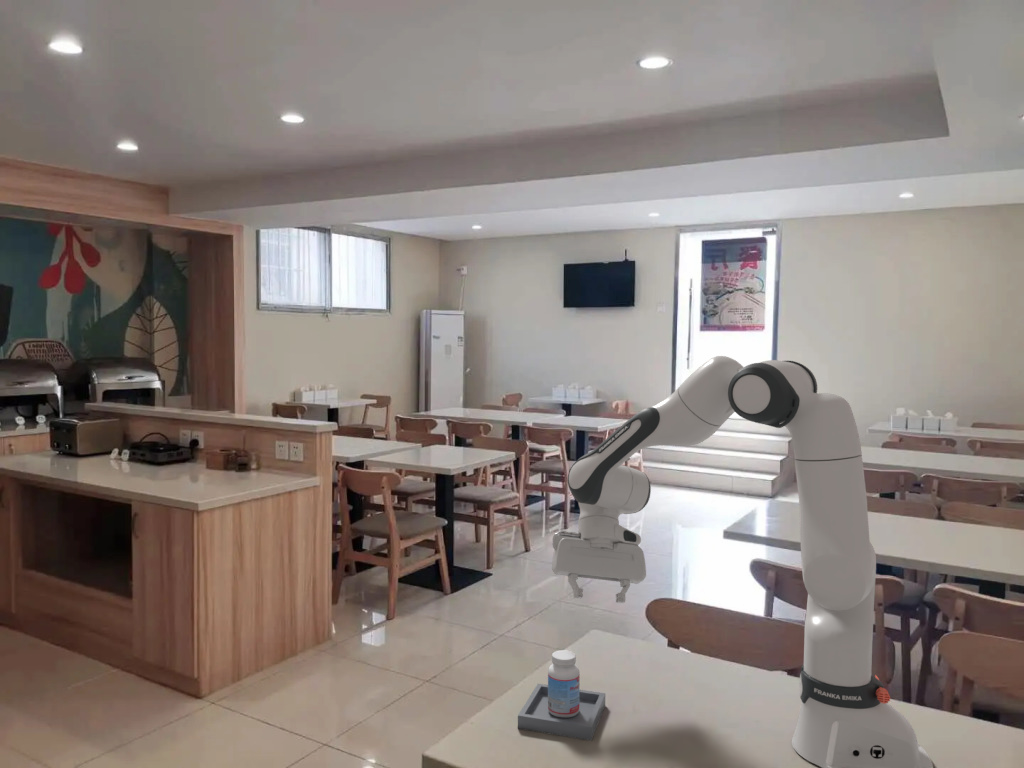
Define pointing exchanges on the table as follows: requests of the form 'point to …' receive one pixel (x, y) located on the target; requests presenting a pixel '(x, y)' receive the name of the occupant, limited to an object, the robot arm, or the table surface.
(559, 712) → the pill bottle
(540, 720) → the tray
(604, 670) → the table surface
